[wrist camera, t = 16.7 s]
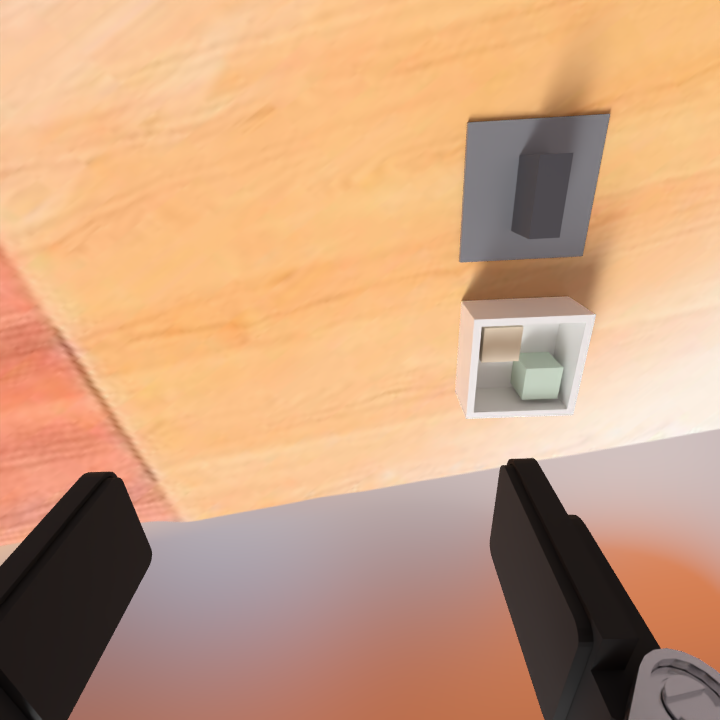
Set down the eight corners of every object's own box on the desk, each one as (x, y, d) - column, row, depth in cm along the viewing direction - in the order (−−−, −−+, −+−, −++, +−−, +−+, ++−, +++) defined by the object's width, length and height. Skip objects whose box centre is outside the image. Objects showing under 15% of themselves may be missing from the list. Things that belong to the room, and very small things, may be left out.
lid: (465, 123, 38) (482, 117, 33) (604, 114, 38) (644, 107, 32) (458, 260, 44) (471, 274, 38) (577, 254, 43) (608, 267, 38)
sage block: (514, 353, 47) (526, 368, 44) (548, 351, 47) (563, 367, 43) (510, 382, 49) (521, 399, 45) (543, 381, 49) (557, 398, 45)
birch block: (475, 315, 45) (484, 328, 42) (510, 313, 45) (523, 326, 41) (472, 347, 47) (481, 362, 43) (506, 345, 47) (518, 361, 43)
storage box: (461, 300, 45) (474, 319, 40) (568, 296, 45) (596, 314, 39) (455, 391, 51) (465, 418, 45) (550, 387, 50) (573, 415, 45)
